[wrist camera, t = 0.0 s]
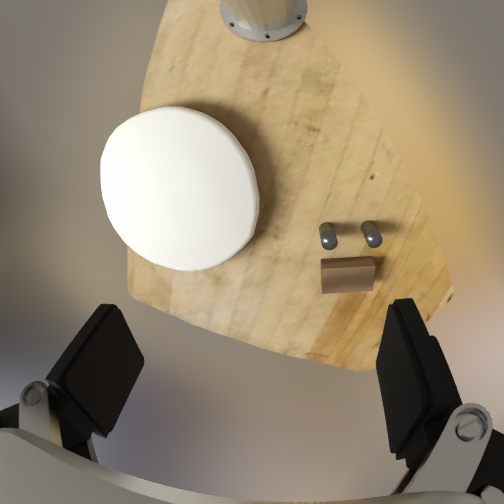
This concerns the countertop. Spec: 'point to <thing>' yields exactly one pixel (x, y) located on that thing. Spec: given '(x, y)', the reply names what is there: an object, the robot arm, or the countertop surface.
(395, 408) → the robot arm
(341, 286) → the block
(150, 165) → the white thick disc
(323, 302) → the countertop surface
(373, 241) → the bench dogs
